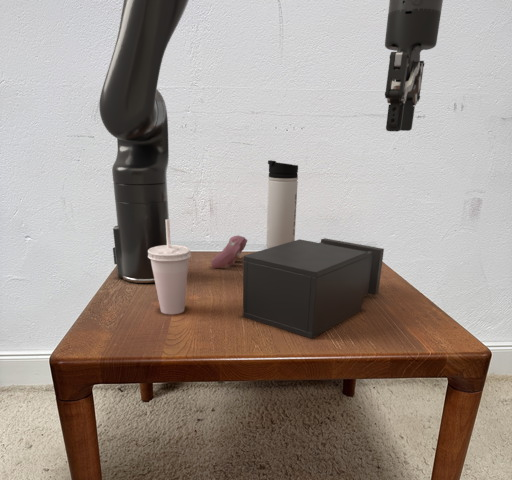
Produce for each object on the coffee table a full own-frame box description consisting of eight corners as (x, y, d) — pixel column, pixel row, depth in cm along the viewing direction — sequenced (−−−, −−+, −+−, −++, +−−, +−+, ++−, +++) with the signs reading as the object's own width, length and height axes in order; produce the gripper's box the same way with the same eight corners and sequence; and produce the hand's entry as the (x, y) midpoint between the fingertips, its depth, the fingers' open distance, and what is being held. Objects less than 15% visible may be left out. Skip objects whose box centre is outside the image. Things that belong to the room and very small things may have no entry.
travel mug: (259, 252, 111) (261, 159, 103) (284, 249, 114) (288, 158, 106) (274, 259, 106) (277, 161, 98) (299, 256, 109) (304, 161, 101)
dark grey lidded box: (296, 293, 85) (299, 239, 81) (361, 310, 78) (367, 251, 74) (242, 316, 75) (243, 255, 71) (312, 338, 68) (316, 272, 64)
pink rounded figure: (228, 277, 99) (243, 247, 95) (208, 266, 98) (223, 236, 95) (239, 264, 107) (253, 237, 104) (221, 254, 107) (235, 226, 104)
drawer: (332, 275, 93) (336, 234, 90) (388, 287, 86) (394, 244, 83) (278, 298, 80) (279, 251, 77) (338, 315, 74) (343, 265, 71)
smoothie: (191, 302, 80) (187, 216, 75) (195, 316, 75) (191, 224, 69) (151, 304, 79) (144, 217, 73) (152, 318, 73) (145, 225, 68)
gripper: (398, 21, 79) (385, 130, 86) (377, 3, 67) (364, 130, 74) (447, 18, 76) (430, 131, 83) (433, -2, 64) (414, 132, 71)
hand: (399, 130), depth 78 cm, fingers open, 8 cm apart
